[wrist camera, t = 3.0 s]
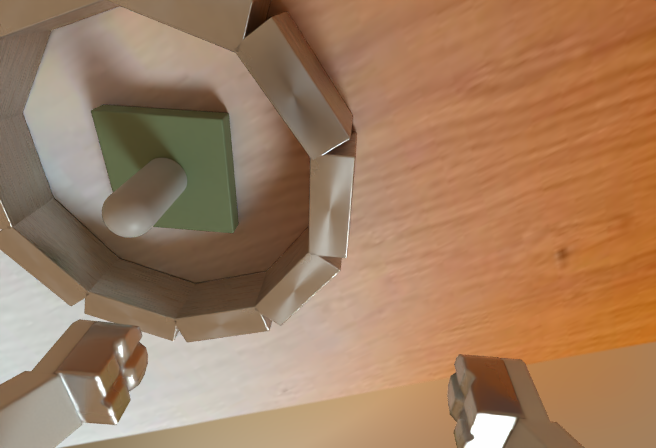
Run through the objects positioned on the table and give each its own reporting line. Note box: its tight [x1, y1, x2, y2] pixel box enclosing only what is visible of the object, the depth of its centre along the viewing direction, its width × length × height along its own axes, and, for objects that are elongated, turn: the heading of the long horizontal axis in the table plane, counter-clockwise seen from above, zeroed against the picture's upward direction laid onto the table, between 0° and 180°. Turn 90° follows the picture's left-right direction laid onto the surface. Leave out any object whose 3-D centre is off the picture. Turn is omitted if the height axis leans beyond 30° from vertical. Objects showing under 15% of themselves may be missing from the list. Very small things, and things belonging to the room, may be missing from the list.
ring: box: [0, 0, 357, 342], centre depth 19 cm, size 18×18×3 cm
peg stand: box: [91, 105, 239, 238], centre depth 18 cm, size 6×6×6 cm
